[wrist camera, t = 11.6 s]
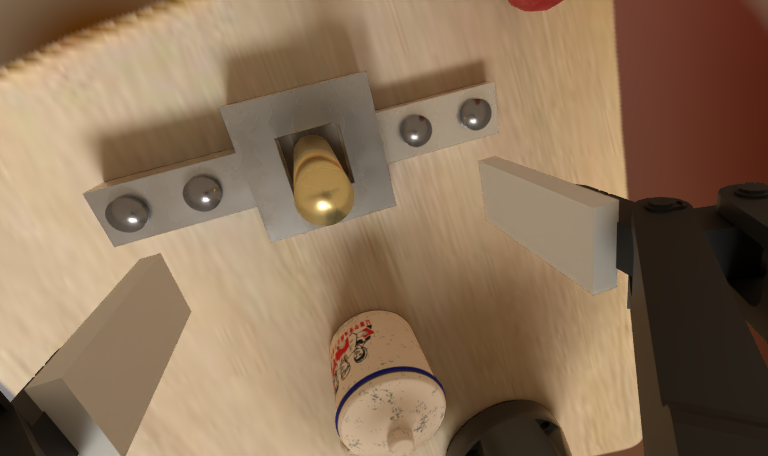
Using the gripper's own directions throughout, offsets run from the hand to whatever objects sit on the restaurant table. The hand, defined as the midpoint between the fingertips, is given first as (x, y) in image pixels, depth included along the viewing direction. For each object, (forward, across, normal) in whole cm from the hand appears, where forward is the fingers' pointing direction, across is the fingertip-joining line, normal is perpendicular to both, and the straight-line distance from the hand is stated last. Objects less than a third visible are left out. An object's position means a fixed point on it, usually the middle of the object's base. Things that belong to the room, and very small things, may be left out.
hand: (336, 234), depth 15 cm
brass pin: (+16, 0, -1) cm, 16 cm away
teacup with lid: (+17, +1, +20) cm, 26 cm away
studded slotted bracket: (+16, 0, -1) cm, 16 cm away
